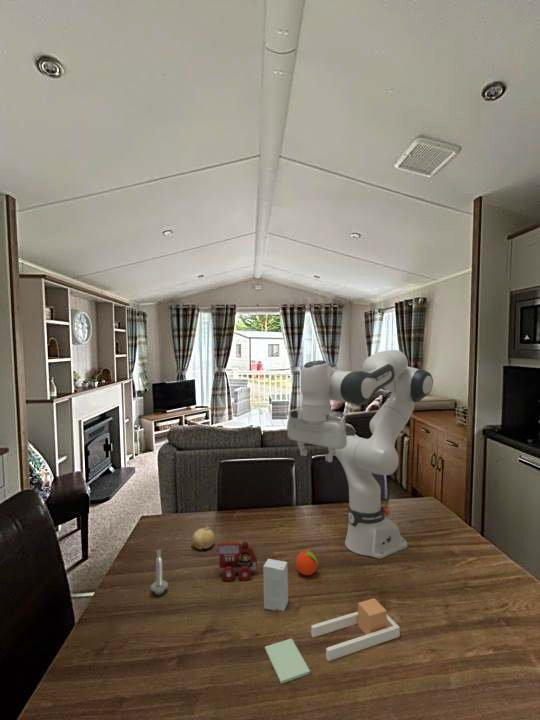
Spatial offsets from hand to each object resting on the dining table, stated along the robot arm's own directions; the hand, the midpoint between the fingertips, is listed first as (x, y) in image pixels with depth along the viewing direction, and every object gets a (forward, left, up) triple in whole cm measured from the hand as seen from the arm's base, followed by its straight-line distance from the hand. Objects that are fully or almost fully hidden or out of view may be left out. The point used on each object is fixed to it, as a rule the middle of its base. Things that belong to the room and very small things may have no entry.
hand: (316, 458), depth 115 cm
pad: (+19, +24, -38) cm, 49 cm away
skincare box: (+16, +6, -38) cm, 42 cm away
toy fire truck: (+22, -12, -38) cm, 46 cm away
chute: (+2, +24, -38) cm, 45 cm away
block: (-3, +24, -37) cm, 45 cm away
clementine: (+1, -4, -38) cm, 38 cm away
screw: (+46, -12, -38) cm, 61 cm away
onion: (+29, -33, -38) cm, 58 cm away
